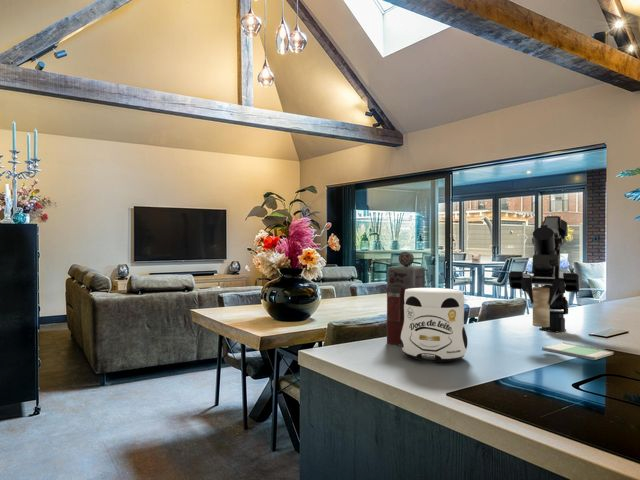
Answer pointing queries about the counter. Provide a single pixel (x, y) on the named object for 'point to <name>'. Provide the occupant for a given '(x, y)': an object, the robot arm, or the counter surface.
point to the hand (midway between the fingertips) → (540, 303)
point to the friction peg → (541, 306)
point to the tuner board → (578, 351)
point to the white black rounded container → (434, 324)
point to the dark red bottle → (400, 293)
